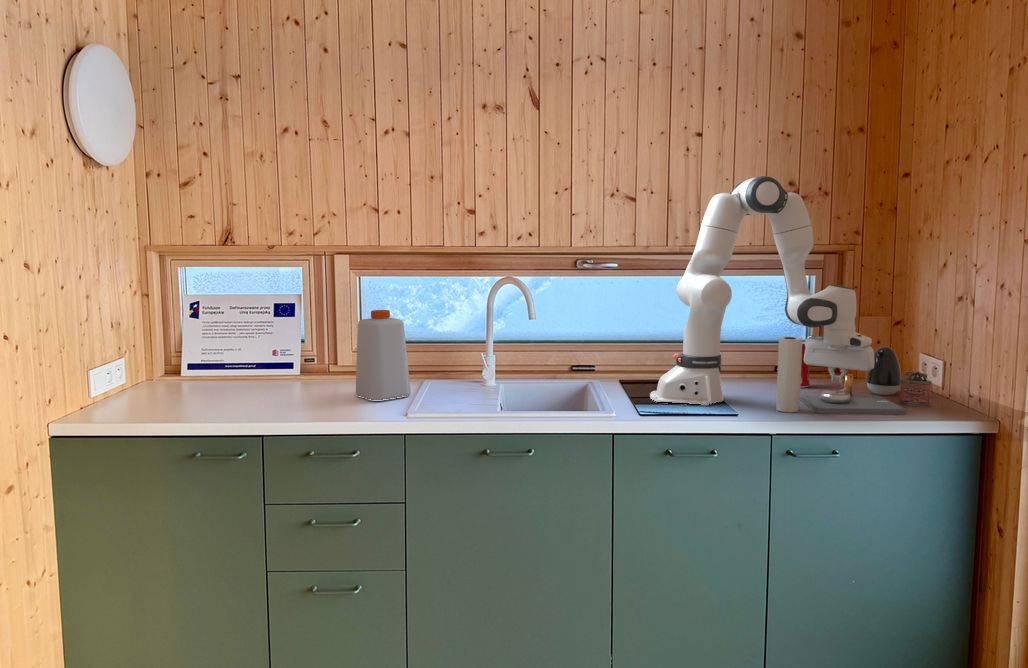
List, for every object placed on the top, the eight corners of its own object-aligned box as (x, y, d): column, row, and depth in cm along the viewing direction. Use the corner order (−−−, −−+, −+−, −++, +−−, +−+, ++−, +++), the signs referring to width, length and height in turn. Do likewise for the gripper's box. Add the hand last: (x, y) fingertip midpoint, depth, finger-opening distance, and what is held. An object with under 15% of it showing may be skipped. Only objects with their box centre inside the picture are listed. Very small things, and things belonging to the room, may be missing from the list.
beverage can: (810, 388, 237) (813, 343, 235) (790, 388, 239) (792, 343, 237) (807, 384, 243) (809, 341, 241) (787, 384, 244) (788, 340, 242)
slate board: (817, 413, 205) (817, 407, 205) (797, 399, 223) (798, 394, 222) (904, 414, 203) (905, 408, 203) (878, 399, 221) (878, 394, 220)
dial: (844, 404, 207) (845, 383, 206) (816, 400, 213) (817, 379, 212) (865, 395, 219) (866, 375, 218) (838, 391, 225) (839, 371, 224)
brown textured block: (930, 404, 214) (932, 371, 212) (929, 407, 211) (932, 373, 209) (899, 402, 218) (901, 369, 216) (898, 404, 215) (900, 371, 213)
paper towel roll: (778, 412, 206) (781, 339, 203) (773, 407, 212) (776, 336, 209) (804, 413, 205) (808, 339, 202) (799, 408, 211) (802, 336, 208)
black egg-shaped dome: (859, 393, 230) (861, 346, 227) (872, 388, 236) (875, 343, 234) (892, 398, 222) (895, 350, 220) (905, 393, 229) (909, 346, 227)
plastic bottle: (373, 404, 222) (370, 314, 218) (351, 395, 234) (347, 310, 230) (415, 396, 232) (413, 310, 228) (392, 389, 243) (389, 307, 239)
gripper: (801, 335, 225) (799, 379, 227) (870, 341, 211) (867, 388, 213) (809, 333, 230) (807, 376, 232) (877, 339, 215) (875, 384, 217)
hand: (837, 381), depth 222 cm, fingers closed
